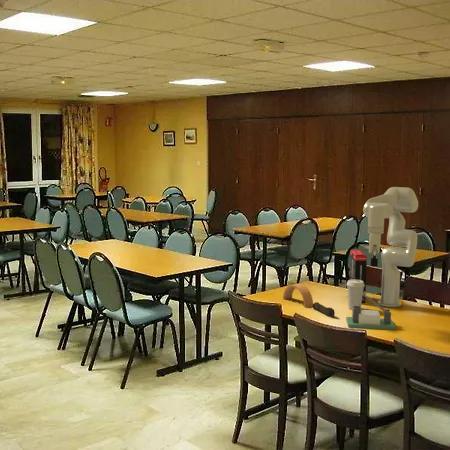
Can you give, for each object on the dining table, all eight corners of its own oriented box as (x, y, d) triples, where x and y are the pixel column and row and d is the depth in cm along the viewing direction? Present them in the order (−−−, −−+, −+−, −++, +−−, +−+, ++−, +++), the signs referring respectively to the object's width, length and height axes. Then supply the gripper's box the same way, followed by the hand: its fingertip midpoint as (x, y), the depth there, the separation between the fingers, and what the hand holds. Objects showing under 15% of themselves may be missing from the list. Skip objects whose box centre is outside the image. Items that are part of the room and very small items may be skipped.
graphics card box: (366, 303, 336) (368, 254, 332) (353, 303, 336) (355, 254, 332) (359, 295, 353) (361, 249, 349) (347, 295, 353) (349, 249, 349)
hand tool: (312, 309, 323) (312, 301, 322) (318, 308, 324) (319, 300, 324) (328, 319, 305) (329, 310, 305) (336, 318, 307) (336, 309, 306)
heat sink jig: (346, 319, 304) (346, 303, 303) (391, 321, 301) (392, 305, 300) (348, 327, 291) (349, 310, 290) (395, 329, 289) (396, 312, 288)
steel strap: (361, 294, 296) (364, 291, 296) (387, 313, 296) (390, 310, 296) (362, 295, 294) (364, 292, 293) (388, 315, 293) (391, 311, 293)
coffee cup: (363, 311, 319) (365, 283, 317) (345, 310, 321) (346, 282, 319) (363, 306, 329) (364, 279, 327) (345, 305, 331) (346, 278, 329)
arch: (291, 298, 346) (291, 280, 344) (313, 306, 329) (313, 288, 327) (282, 299, 343) (283, 281, 342) (304, 307, 326) (305, 289, 324)
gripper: (368, 227, 307) (366, 260, 309) (367, 232, 290) (365, 267, 292) (383, 227, 305) (381, 261, 307) (383, 232, 288) (382, 268, 291)
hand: (374, 264), depth 300 cm, fingers open, 9 cm apart
